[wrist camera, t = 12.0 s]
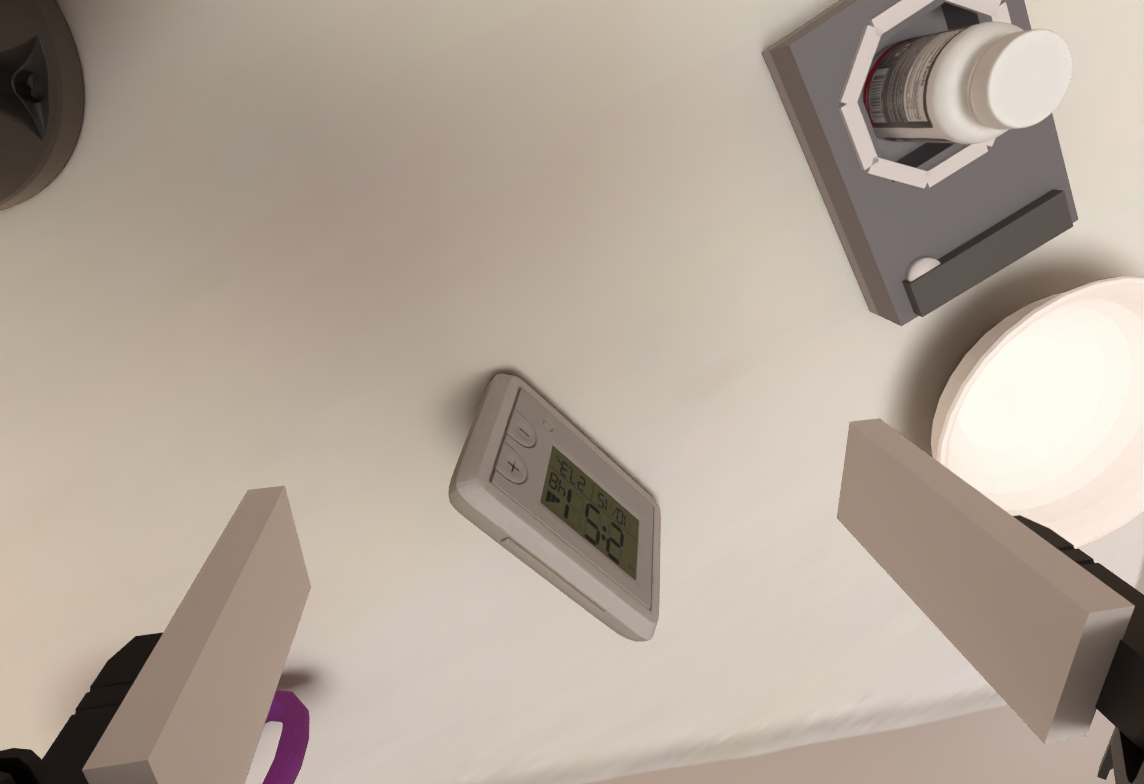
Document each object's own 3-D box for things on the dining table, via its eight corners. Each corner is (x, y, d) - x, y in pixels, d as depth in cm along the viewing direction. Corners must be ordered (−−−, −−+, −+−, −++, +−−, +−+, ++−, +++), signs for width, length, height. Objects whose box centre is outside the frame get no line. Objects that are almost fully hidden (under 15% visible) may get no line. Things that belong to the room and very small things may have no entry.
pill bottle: (961, 72, 37) (1113, 55, 29) (903, 159, 39) (1030, 168, 30) (893, 18, 36) (1031, -17, 27) (836, 111, 37) (948, 106, 28)
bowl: (1144, 439, 51) (1230, 480, 45) (912, 546, 52) (968, 599, 46) (1125, 205, 43) (1227, 218, 37) (852, 335, 44) (910, 368, 38)
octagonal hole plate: (761, 52, 37) (796, 43, 33) (953, -75, 35) (1012, -99, 32) (870, 311, 44) (909, 329, 40) (1032, 212, 43) (1089, 221, 39)
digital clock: (664, 511, 48) (713, 611, 38) (561, 574, 48) (583, 687, 39) (545, 337, 41) (566, 402, 32) (428, 412, 42) (414, 498, 32)
